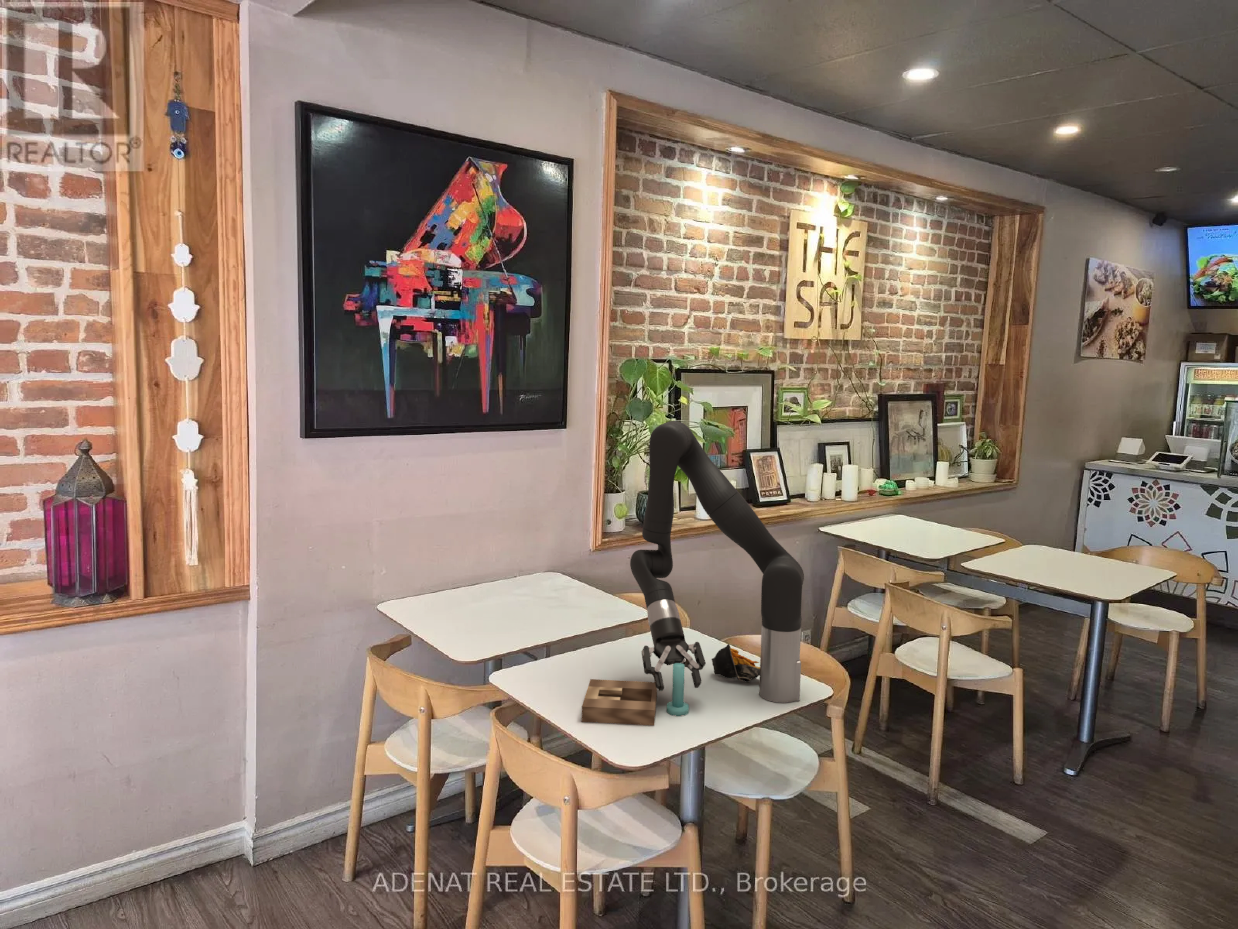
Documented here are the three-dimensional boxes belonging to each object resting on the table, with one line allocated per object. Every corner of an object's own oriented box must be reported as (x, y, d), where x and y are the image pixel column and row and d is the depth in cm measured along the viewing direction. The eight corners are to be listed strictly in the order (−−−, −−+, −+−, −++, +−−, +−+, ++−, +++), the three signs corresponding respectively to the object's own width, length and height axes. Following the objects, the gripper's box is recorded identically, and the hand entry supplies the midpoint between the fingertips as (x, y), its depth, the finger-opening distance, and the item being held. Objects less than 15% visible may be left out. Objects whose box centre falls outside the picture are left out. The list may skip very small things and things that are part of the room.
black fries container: (708, 650, 214) (775, 631, 212) (721, 693, 211) (789, 674, 209) (705, 649, 205) (775, 629, 203) (718, 693, 202) (789, 673, 200)
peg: (688, 707, 189) (689, 661, 188) (688, 716, 184) (689, 669, 183) (666, 706, 190) (668, 660, 188) (666, 715, 185) (667, 668, 183)
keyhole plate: (657, 696, 195) (657, 682, 195) (654, 725, 180) (654, 710, 179) (590, 693, 197) (590, 679, 196) (581, 721, 181) (581, 706, 180)
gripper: (639, 617, 190) (653, 684, 180) (697, 614, 194) (714, 678, 184) (632, 632, 196) (646, 697, 186) (689, 628, 199) (704, 692, 190)
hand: (679, 688), depth 185 cm, fingers open, 8 cm apart
